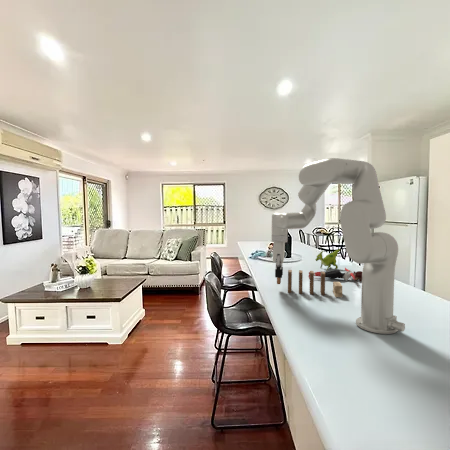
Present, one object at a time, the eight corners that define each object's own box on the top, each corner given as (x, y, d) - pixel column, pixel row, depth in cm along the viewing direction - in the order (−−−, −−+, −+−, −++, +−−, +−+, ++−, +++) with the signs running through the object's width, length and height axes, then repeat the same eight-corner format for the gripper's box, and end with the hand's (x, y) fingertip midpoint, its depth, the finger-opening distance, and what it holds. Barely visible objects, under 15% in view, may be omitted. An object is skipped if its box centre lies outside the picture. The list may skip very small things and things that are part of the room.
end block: (339, 292, 138) (339, 281, 138) (342, 297, 130) (342, 286, 130) (333, 292, 139) (333, 281, 139) (335, 296, 131) (335, 285, 131)
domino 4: (313, 291, 140) (313, 270, 139) (313, 294, 135) (313, 273, 134) (309, 291, 140) (309, 270, 140) (309, 294, 135) (310, 273, 135)
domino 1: (280, 281, 143) (281, 261, 143) (280, 284, 138) (280, 263, 138) (277, 281, 144) (277, 261, 143) (276, 284, 139) (277, 263, 138)
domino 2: (291, 290, 142) (291, 269, 142) (291, 293, 137) (291, 272, 137) (288, 290, 142) (288, 269, 142) (287, 292, 138) (288, 271, 137)
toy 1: (318, 275, 195) (310, 256, 192) (339, 257, 203) (331, 239, 199) (327, 277, 188) (319, 258, 184) (349, 259, 195) (341, 240, 191)
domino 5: (323, 292, 138) (324, 271, 138) (324, 295, 134) (325, 273, 133) (320, 292, 139) (320, 271, 138) (321, 295, 134) (321, 273, 133)
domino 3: (302, 290, 141) (302, 270, 140) (302, 293, 136) (302, 272, 136) (298, 290, 141) (298, 270, 141) (298, 293, 136) (299, 272, 136)
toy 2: (310, 284, 153) (372, 287, 147) (310, 274, 153) (372, 276, 147) (307, 273, 181) (359, 275, 174) (307, 264, 180) (359, 266, 174)
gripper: (273, 236, 149) (272, 272, 150) (269, 240, 132) (269, 279, 134) (288, 237, 147) (287, 272, 148) (286, 240, 131) (286, 281, 132)
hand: (279, 275), depth 141 cm, fingers closed on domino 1, 4 cm apart
